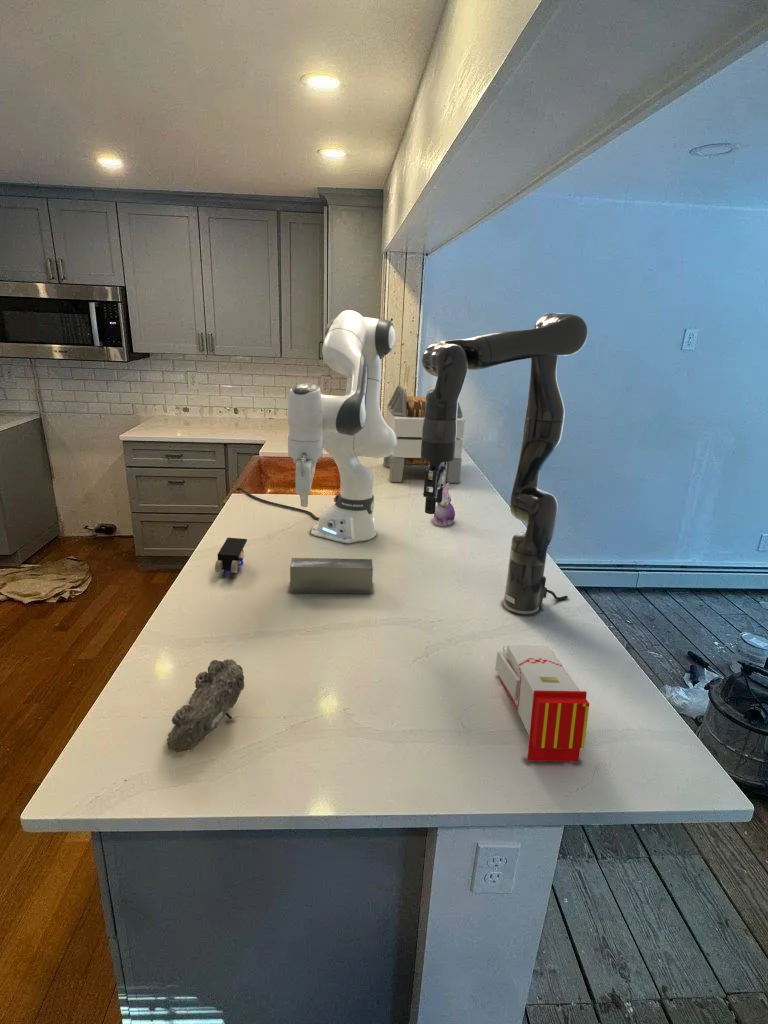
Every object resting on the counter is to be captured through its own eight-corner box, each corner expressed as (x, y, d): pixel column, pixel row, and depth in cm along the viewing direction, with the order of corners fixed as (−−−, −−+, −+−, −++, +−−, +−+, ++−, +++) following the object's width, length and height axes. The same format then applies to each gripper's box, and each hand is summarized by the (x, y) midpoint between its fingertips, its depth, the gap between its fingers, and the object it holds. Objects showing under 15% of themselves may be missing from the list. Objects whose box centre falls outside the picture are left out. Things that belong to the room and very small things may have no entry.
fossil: (192, 660, 117) (244, 628, 112) (224, 691, 120) (276, 661, 115) (142, 746, 98) (202, 712, 93) (182, 779, 101) (242, 748, 96)
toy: (545, 627, 125) (599, 699, 96) (539, 683, 128) (590, 769, 99) (490, 626, 125) (528, 698, 96) (486, 682, 128) (522, 768, 98)
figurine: (440, 528, 206) (443, 489, 201) (425, 519, 214) (428, 481, 209) (461, 525, 210) (465, 486, 205) (446, 516, 219) (449, 478, 214)
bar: (290, 592, 156) (290, 566, 153) (292, 582, 161) (292, 557, 159) (371, 593, 157) (372, 568, 155) (371, 583, 163) (372, 559, 160)
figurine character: (238, 584, 162) (249, 557, 175) (236, 562, 158) (247, 536, 172) (215, 584, 161) (227, 556, 175) (212, 561, 158) (225, 535, 171)
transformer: (382, 463, 289) (386, 382, 275) (445, 464, 293) (451, 384, 279) (390, 482, 257) (394, 392, 243) (460, 483, 261) (468, 394, 247)
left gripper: (315, 459, 136) (315, 513, 141) (319, 440, 155) (319, 488, 160) (289, 459, 135) (289, 513, 140) (296, 440, 155) (297, 488, 159)
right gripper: (450, 446, 117) (444, 519, 122) (460, 433, 130) (454, 500, 135) (415, 442, 119) (410, 515, 124) (428, 430, 132) (424, 496, 137)
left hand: (305, 500), depth 150 cm, fingers open, 8 cm apart
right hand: (433, 507), depth 130 cm, fingers open, 8 cm apart
